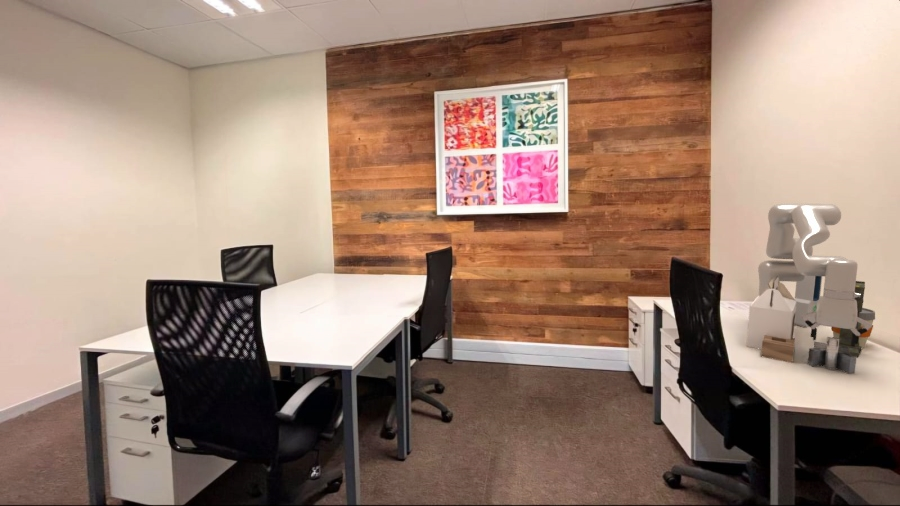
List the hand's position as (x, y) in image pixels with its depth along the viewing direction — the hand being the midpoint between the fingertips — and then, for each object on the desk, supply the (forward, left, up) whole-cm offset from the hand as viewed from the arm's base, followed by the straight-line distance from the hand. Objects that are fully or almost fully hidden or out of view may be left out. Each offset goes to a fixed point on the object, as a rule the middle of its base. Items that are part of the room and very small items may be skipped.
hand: (833, 342), depth 135 cm
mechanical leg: (-24, +6, -10) cm, 26 cm away
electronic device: (-60, -8, -10) cm, 61 cm away
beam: (-4, -14, -9) cm, 18 cm away
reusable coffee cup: (-36, +6, -10) cm, 38 cm away
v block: (-4, 0, -9) cm, 10 cm away
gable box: (-18, -18, -10) cm, 27 cm away
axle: (0, 0, -9) cm, 9 cm away
